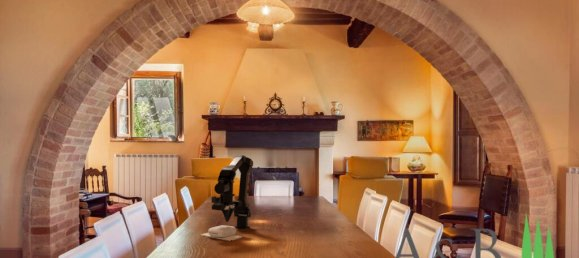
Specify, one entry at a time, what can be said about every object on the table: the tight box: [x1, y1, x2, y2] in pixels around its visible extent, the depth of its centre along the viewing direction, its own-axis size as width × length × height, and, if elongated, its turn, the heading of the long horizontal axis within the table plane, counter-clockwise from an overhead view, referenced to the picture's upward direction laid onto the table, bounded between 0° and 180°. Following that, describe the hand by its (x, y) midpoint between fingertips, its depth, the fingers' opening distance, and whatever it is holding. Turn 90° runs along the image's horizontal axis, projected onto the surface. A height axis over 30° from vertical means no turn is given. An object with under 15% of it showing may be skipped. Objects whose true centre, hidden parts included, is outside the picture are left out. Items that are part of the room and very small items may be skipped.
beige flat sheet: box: [200, 232, 243, 242], centre depth 231 cm, size 9×20×1 cm, turn 58°
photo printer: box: [207, 224, 237, 238], centre depth 230 cm, size 10×4×12 cm
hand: (227, 221), depth 235 cm, fingers closed
